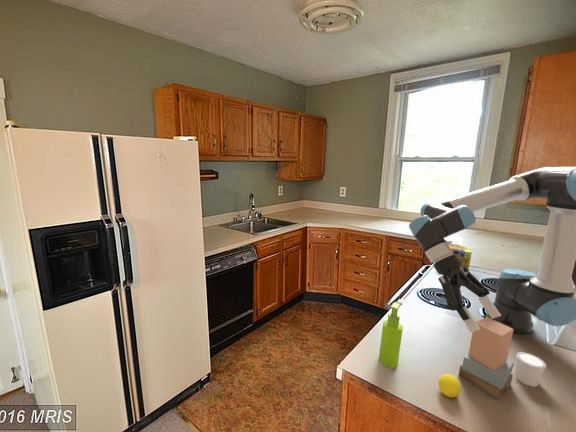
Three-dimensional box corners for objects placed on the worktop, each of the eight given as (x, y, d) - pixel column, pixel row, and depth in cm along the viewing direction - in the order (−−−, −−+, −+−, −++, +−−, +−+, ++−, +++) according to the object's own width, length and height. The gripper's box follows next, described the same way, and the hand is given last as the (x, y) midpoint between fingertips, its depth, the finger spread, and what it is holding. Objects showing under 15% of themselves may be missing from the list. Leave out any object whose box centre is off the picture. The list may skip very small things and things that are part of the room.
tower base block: (473, 365, 91) (475, 354, 90) (510, 386, 83) (512, 374, 82) (458, 377, 86) (460, 365, 85) (495, 400, 77) (498, 388, 76)
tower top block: (473, 354, 90) (475, 343, 89) (511, 373, 82) (513, 361, 82) (461, 368, 84) (464, 356, 83) (502, 389, 76) (504, 377, 75)
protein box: (447, 274, 164) (451, 249, 161) (442, 265, 178) (446, 242, 175) (467, 277, 161) (472, 252, 158) (460, 268, 175) (464, 244, 172)
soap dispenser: (401, 359, 91) (409, 304, 87) (393, 370, 86) (401, 312, 82) (384, 350, 95) (391, 297, 91) (375, 361, 90) (382, 305, 86)
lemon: (457, 407, 75) (460, 392, 73) (435, 396, 78) (437, 381, 76) (461, 388, 80) (463, 374, 78) (440, 379, 83) (442, 364, 82)
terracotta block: (480, 348, 87) (486, 316, 85) (506, 362, 81) (513, 329, 79) (468, 355, 84) (474, 322, 81) (494, 370, 78) (501, 336, 75)
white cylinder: (527, 371, 88) (531, 351, 87) (547, 388, 82) (553, 368, 80) (506, 370, 88) (510, 351, 87) (525, 388, 81) (530, 367, 80)
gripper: (453, 258, 100) (493, 315, 91) (412, 270, 86) (453, 340, 77) (471, 248, 94) (516, 308, 85) (430, 260, 81) (478, 333, 72)
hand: (486, 323), depth 81 cm, fingers open, 13 cm apart
